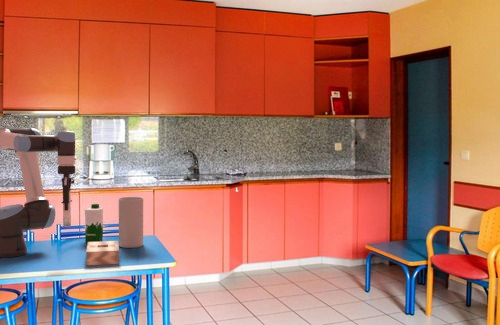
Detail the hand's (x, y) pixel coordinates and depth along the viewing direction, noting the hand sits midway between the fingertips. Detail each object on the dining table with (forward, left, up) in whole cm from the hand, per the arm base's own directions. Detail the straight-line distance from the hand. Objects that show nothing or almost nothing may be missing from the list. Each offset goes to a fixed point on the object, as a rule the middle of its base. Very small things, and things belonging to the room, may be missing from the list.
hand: (66, 216), depth 228 cm
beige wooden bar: (0, 0, -4) cm, 4 cm away
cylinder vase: (+30, +28, -21) cm, 46 cm away
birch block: (+16, +2, -21) cm, 26 cm away
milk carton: (+11, +44, -21) cm, 50 cm away
